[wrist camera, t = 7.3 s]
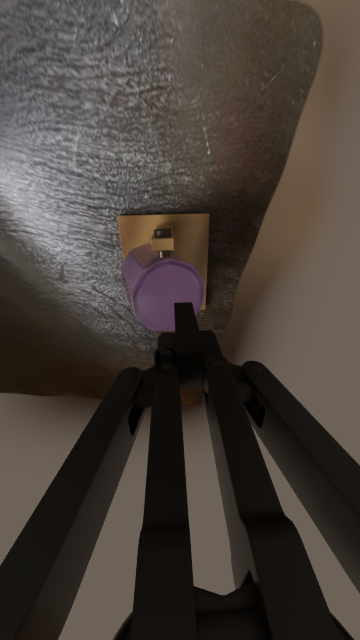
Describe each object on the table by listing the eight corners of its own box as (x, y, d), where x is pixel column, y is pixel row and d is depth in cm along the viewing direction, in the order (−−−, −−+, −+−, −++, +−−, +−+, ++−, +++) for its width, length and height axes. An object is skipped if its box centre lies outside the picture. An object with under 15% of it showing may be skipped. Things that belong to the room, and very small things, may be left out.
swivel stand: (208, 213, 28) (232, 220, 18) (204, 306, 35) (219, 351, 25) (118, 215, 28) (88, 224, 17) (132, 309, 35) (117, 356, 24)
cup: (125, 256, 18) (116, 240, 25) (137, 342, 22) (126, 307, 30) (206, 248, 20) (175, 236, 27) (202, 328, 24) (177, 299, 32)
